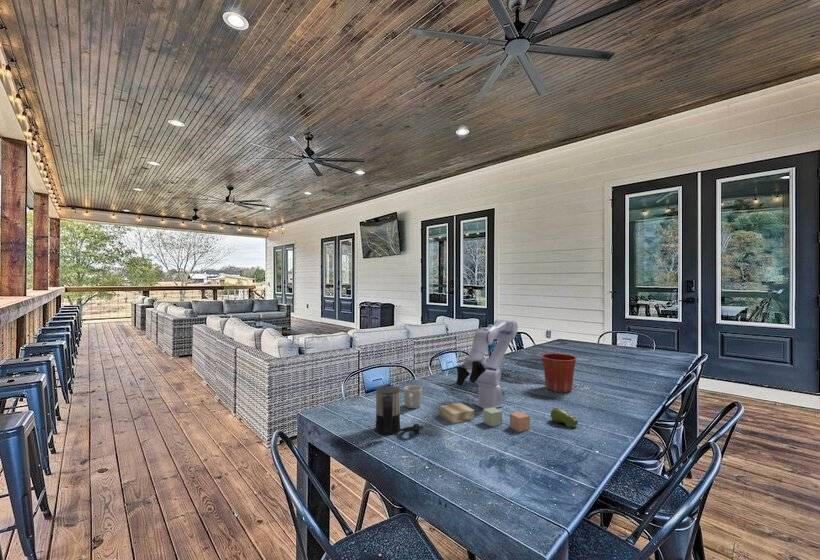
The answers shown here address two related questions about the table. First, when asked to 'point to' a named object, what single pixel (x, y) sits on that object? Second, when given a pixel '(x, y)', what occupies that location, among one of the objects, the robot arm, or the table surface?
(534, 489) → the table surface
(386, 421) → the milk frother
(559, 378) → the flower pot
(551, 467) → the table surface
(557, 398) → the table surface
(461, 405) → the base block
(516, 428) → the terracotta cube
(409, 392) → the cup
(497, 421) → the sage cube
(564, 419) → the pear
